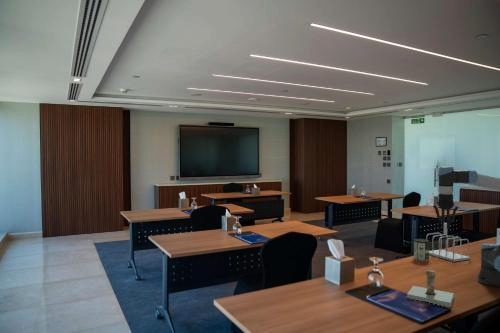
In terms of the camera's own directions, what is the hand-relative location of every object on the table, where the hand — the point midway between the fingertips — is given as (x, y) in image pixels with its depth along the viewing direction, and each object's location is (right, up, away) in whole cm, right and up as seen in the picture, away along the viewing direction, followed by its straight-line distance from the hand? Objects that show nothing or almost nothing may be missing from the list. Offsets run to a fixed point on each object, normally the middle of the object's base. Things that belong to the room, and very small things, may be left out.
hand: (445, 234), depth 204 cm
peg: (-17, -31, -16) cm, 39 cm away
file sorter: (+36, -29, +64) cm, 79 cm away
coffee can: (+14, -29, +57) cm, 66 cm away
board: (-17, -31, -16) cm, 39 cm away
